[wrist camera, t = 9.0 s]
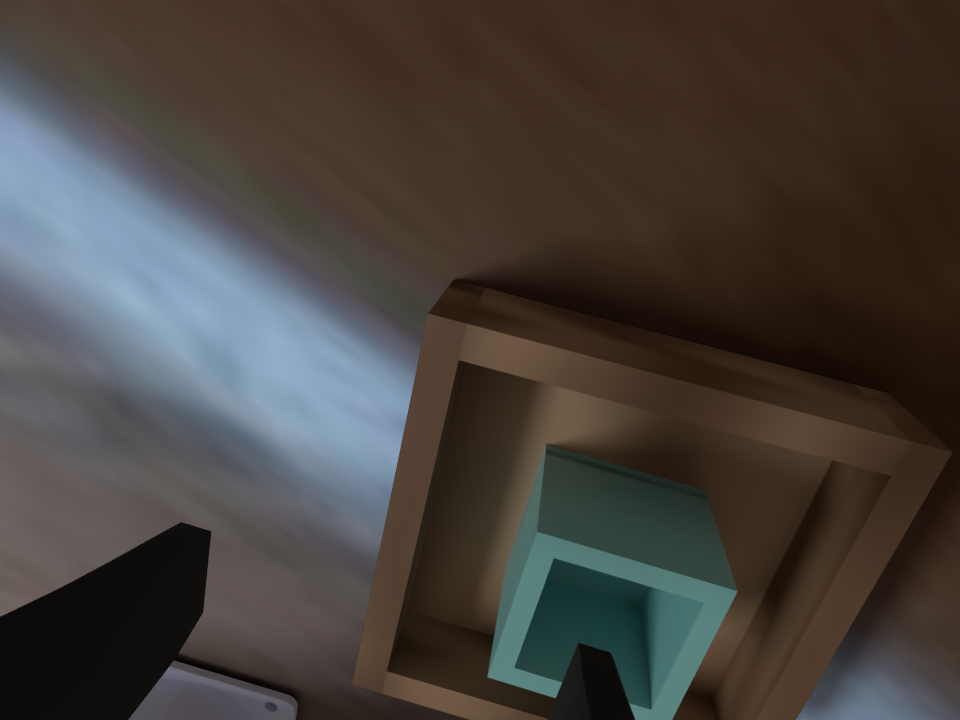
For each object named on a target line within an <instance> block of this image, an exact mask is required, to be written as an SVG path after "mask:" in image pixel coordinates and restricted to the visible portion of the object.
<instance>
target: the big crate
mask: <svg viewBox="0 0 960 720" xmlns="http://www.w3.org/2000/svg"><path fill="white" fill-rule="evenodd" d="M546 444H548V445H551V446H554V447H558V448H561V449H565V450H568V451H572V452H575V453H579V454H582V455H585V456H589V457H592V458H596V459H599V460H603V461H606V462H610V463H613V464H616V465H620V466H623V467H627V468H630V469H634V470H637V471H641V472H644V473H647V474H651V475H654V476H658V477H661V478H665V479H668V480H672V481H675V482H678V483H682V484H685V485H689V486H692V487H696V488H699V489H703V490H705V491H706V495H707V498H708V501H709V504H710V507H711V510H712V513H713V516H714V519H715V522H716V526H717V529H718V532H719V535H720V538H721V541H722V544H723V547H724V550H725V553H726V557H727V560H728V563H729V566H730V569H731V572H732V575H733V578H734V581H735V585H736V588H737V591H738V592H737V594H736V596H735V598H734V599H733V601H732V603H731V605H730V607H729V609H728V611H727V613H726V615H725V617H724V619H723V621H722V623H721V625H720V627H719V629H718V631H717V633H716V635H715V637H714V639H713V641H712V643H711V644H710V646H709V648H708V650H707V652H706V654H705V656H704V658H703V660H702V662H701V664H700V666H699V668H698V670H697V672H696V674H695V676H694V678H693V680H692V682H691V684H690V686H689V687H688V689H687V691H686V693H685V695H684V697H683V699H682V701H681V703H680V705H679V707H678V709H677V711H676V713H675V715H674V717H673V719H672V720H796V719H797V717H798V715H799V714H800V712H801V710H802V708H803V707H804V705H805V703H806V702H807V700H808V698H809V697H810V695H811V693H812V691H813V690H814V688H815V686H816V685H817V683H818V681H819V679H820V678H821V676H822V674H823V673H824V671H825V669H826V668H827V666H828V664H829V662H830V661H831V659H832V657H833V656H834V654H835V652H836V650H837V649H838V647H839V645H840V644H841V642H842V640H843V639H844V637H845V635H846V633H847V632H848V630H849V628H850V627H851V625H852V623H853V621H854V620H855V618H856V616H857V615H858V613H859V611H860V610H861V608H862V606H863V604H864V603H865V601H866V599H867V598H868V596H869V594H870V592H871V591H872V589H873V587H874V586H875V584H876V582H877V580H878V579H879V577H880V575H881V574H882V572H883V570H884V569H885V567H886V565H887V563H888V562H889V560H890V558H891V557H892V555H893V553H894V551H895V550H896V548H897V546H898V545H899V543H900V541H901V540H902V538H903V536H904V534H905V533H906V531H907V529H908V528H909V526H910V524H911V522H912V521H913V519H914V517H915V516H916V514H917V512H918V511H919V509H920V507H921V505H922V504H923V502H924V500H925V499H926V497H927V495H928V493H929V492H930V490H931V488H932V487H933V485H934V483H935V482H936V480H937V478H938V476H939V475H940V473H941V471H942V470H943V468H944V466H945V464H946V463H947V461H948V459H949V458H950V456H951V454H952V451H951V450H949V449H948V448H947V447H946V446H945V445H944V444H943V443H942V442H941V441H940V440H939V439H938V438H937V437H935V436H934V435H933V434H932V433H931V432H930V431H929V430H928V429H927V428H926V427H925V426H924V425H922V424H921V423H920V422H919V421H918V420H917V419H916V418H915V417H914V416H913V415H912V414H911V413H910V412H908V411H907V410H906V409H905V408H904V407H903V406H902V405H901V404H900V403H899V402H898V401H897V400H896V399H894V398H893V397H892V396H891V395H890V394H889V393H886V392H882V391H878V390H874V389H871V388H867V387H863V386H859V385H855V384H851V383H848V382H844V381H840V380H836V379H832V378H828V377H825V376H821V375H817V374H813V373H809V372H806V371H802V370H798V369H794V368H790V367H786V366H783V365H779V364H775V363H771V362H767V361H763V360H760V359H756V358H752V357H748V356H744V355H741V354H737V353H733V352H729V351H725V350H721V349H718V348H714V347H710V346H706V345H702V344H698V343H695V342H691V341H687V340H683V339H679V338H675V337H672V336H668V335H664V334H660V333H656V332H653V331H649V330H645V329H641V328H637V327H633V326H630V325H626V324H622V323H618V322H614V321H610V320H607V319H603V318H599V317H595V316H591V315H587V314H584V313H580V312H576V311H572V310H568V309H565V308H561V307H557V306H553V305H549V304H545V303H542V302H538V301H534V300H530V299H526V298H522V297H519V296H515V295H511V294H507V293H503V292H499V291H496V290H492V289H488V288H484V287H480V286H477V285H473V284H469V283H465V282H461V281H457V280H453V281H452V283H451V284H450V285H449V287H448V288H447V289H446V291H445V292H444V293H443V295H442V296H441V297H440V299H439V300H438V301H437V303H436V304H435V305H434V307H433V308H432V309H431V311H430V312H429V313H428V317H427V322H426V327H425V332H424V337H423V342H422V346H421V351H420V356H419V361H418V366H417V371H416V376H415V381H414V385H413V390H412V395H411V400H410V405H409V410H408V415H407V420H406V424H405V429H404V434H403V439H402V444H401V449H400V454H399V459H398V463H397V468H396V473H395V478H394V483H393V488H392V493H391V498H390V502H389V507H388V512H387V517H386V522H385V527H384V532H383V537H382V541H381V546H380V551H379V556H378V561H377V566H376V571H375V576H374V580H373V585H372V590H371V595H370V600H369V605H368V610H367V615H366V619H365V624H364V629H363V634H362V639H361V644H360V649H359V654H358V658H357V663H356V668H355V673H354V678H353V683H352V685H355V686H358V687H361V688H365V689H368V690H371V691H375V692H378V693H381V694H385V695H388V696H392V697H395V698H398V699H402V700H405V701H408V702H412V703H415V704H418V705H422V706H425V707H429V708H432V709H435V710H439V711H442V712H445V713H449V714H452V715H456V716H459V717H462V718H466V719H469V720H547V719H548V716H549V714H550V711H551V709H552V706H553V704H554V701H555V699H556V698H553V697H550V696H547V695H544V694H540V693H537V692H534V691H531V690H527V689H524V688H521V687H518V686H515V685H511V684H508V683H505V682H502V681H498V680H495V679H492V678H489V677H487V676H488V670H489V664H490V658H491V652H492V646H493V640H494V634H495V628H496V622H497V616H498V610H499V604H500V598H501V592H502V586H503V580H504V574H505V569H506V566H507V563H508V560H509V557H510V554H511V551H512V547H513V544H514V541H515V538H516V535H517V532H518V529H519V526H520V523H521V520H522V517H523V514H524V511H525V508H526V505H527V502H528V499H529V496H530V492H531V489H532V486H533V483H534V480H535V477H536V474H537V471H538V468H539V465H540V462H541V459H542V456H543V453H544V450H545V447H546Z"/></svg>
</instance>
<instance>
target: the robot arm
mask: <svg viewBox="0 0 960 720" xmlns="http://www.w3.org/2000/svg"><path fill="white" fill-rule="evenodd" d="M210 538H211V531H208V530H205V529H202V528H198V527H195V526H192V525H189V524H185V523H182V522H181V523H179V524H177V525H175V526H173V527H171V528H169V529H168V530H166V531H164V532H162V533H160V534H158V535H157V536H155V537H153V538H151V539H149V540H148V541H146V542H144V543H142V544H141V545H139V546H137V547H135V548H133V549H132V550H130V551H128V552H126V553H124V554H123V555H121V556H119V557H117V558H115V559H114V560H112V561H110V562H108V563H106V564H104V565H102V566H101V567H99V568H97V569H95V570H93V571H91V572H89V573H87V574H86V575H84V576H82V577H80V578H78V579H76V580H74V581H72V582H71V583H69V584H67V585H65V586H63V587H61V588H59V589H57V590H55V591H53V592H51V593H49V594H47V595H45V596H42V597H40V598H38V599H36V600H34V601H32V602H30V603H28V604H26V605H24V606H22V607H20V608H18V609H16V610H14V611H12V612H9V613H7V614H5V615H3V616H1V617H0V720H296V716H297V710H298V703H297V701H296V700H295V699H294V698H293V697H292V696H290V695H288V694H284V693H281V692H278V691H274V690H271V689H268V688H264V687H261V686H258V685H254V684H251V683H248V682H244V681H241V680H238V679H234V678H231V677H228V676H224V675H221V674H218V673H214V672H211V671H208V670H204V669H201V668H198V667H194V666H191V665H188V664H184V663H181V662H178V661H174V659H175V658H176V656H177V654H178V653H179V651H180V650H181V648H182V646H183V645H184V643H185V642H186V640H187V638H188V637H189V635H190V633H191V632H192V630H193V628H194V627H195V625H196V623H197V622H198V620H199V618H200V617H201V615H202V613H203V608H204V598H205V588H206V578H207V568H208V558H209V548H210ZM547 720H635V717H634V715H633V712H632V709H631V707H630V704H629V701H628V698H627V696H626V693H625V690H624V687H623V684H622V681H621V678H620V676H619V673H618V670H617V667H616V664H615V661H614V658H613V656H612V654H611V653H610V652H608V651H604V650H601V649H598V648H595V647H591V646H588V645H585V644H581V643H578V644H577V647H576V649H575V652H574V654H573V657H572V659H571V662H570V664H569V667H568V669H567V672H566V674H565V677H564V679H563V682H562V684H561V687H560V689H559V691H558V694H557V696H556V699H555V701H554V704H553V706H552V709H551V711H550V714H549V716H548V719H547Z"/></svg>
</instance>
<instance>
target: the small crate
mask: <svg viewBox="0 0 960 720" xmlns="http://www.w3.org/2000/svg"><path fill="white" fill-rule="evenodd" d="M737 592H738V591H737V588H736V585H735V581H734V578H733V575H732V572H731V569H730V566H729V563H728V560H727V557H726V553H725V550H724V547H723V544H722V541H721V538H720V535H719V532H718V529H717V526H716V522H715V519H714V516H713V513H712V510H711V507H710V504H709V501H708V498H707V495H706V491H705V490H703V489H699V488H696V487H692V486H689V485H685V484H682V483H678V482H675V481H672V480H668V479H665V478H661V477H658V476H654V475H651V474H647V473H644V472H641V471H637V470H634V469H630V468H627V467H623V466H620V465H616V464H613V463H610V462H606V461H603V460H599V459H596V458H592V457H589V456H585V455H582V454H579V453H575V452H572V451H568V450H565V449H561V448H558V447H554V446H551V445H548V444H546V447H545V450H544V453H543V456H542V459H541V462H540V465H539V468H538V471H537V474H536V477H535V480H534V483H533V486H532V489H531V492H530V496H529V499H528V502H527V505H526V508H525V511H524V514H523V517H522V520H521V523H520V526H519V529H518V532H517V535H516V538H515V541H514V544H513V547H512V551H511V554H510V557H509V560H508V563H507V566H506V569H505V574H504V580H503V586H502V592H501V598H500V604H499V610H498V616H497V622H496V628H495V634H494V640H493V646H492V652H491V658H490V664H489V670H488V676H487V677H489V678H492V679H495V680H498V681H502V682H505V683H508V684H511V685H515V686H518V687H521V688H524V689H527V690H531V691H534V692H537V693H540V694H544V695H547V696H550V697H553V698H556V696H557V694H558V691H559V689H560V687H561V684H562V682H563V679H564V677H565V674H566V672H567V669H568V667H569V664H570V662H571V659H572V657H573V654H574V652H575V649H576V647H577V644H578V643H581V644H585V645H588V646H591V647H595V648H598V649H601V650H604V651H608V652H610V653H611V654H612V656H613V658H614V661H615V664H616V667H617V670H618V673H619V676H620V678H621V681H622V684H623V687H624V690H625V693H626V696H627V698H628V701H629V704H630V707H631V709H632V712H633V715H634V717H635V720H672V719H673V717H674V715H675V713H676V711H677V709H678V707H679V705H680V703H681V701H682V699H683V697H684V695H685V693H686V691H687V689H688V687H689V686H690V684H691V682H692V680H693V678H694V676H695V674H696V672H697V670H698V668H699V666H700V664H701V662H702V660H703V658H704V656H705V654H706V652H707V650H708V648H709V646H710V644H711V643H712V641H713V639H714V637H715V635H716V633H717V631H718V629H719V627H720V625H721V623H722V621H723V619H724V617H725V615H726V613H727V611H728V609H729V607H730V605H731V603H732V601H733V599H734V598H735V596H736V594H737Z"/></svg>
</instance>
